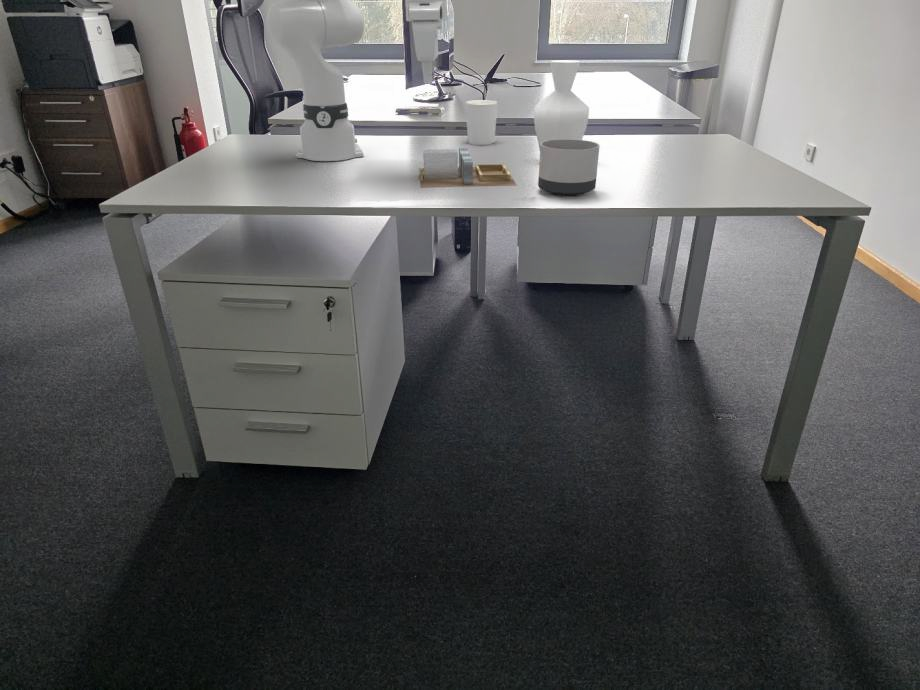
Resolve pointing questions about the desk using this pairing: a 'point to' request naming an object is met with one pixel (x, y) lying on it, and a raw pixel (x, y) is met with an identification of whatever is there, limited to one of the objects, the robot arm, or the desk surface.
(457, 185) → the board
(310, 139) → the robot arm
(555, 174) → the planter
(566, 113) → the vase
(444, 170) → the bar
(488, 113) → the candle holder
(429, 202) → the desk surface
